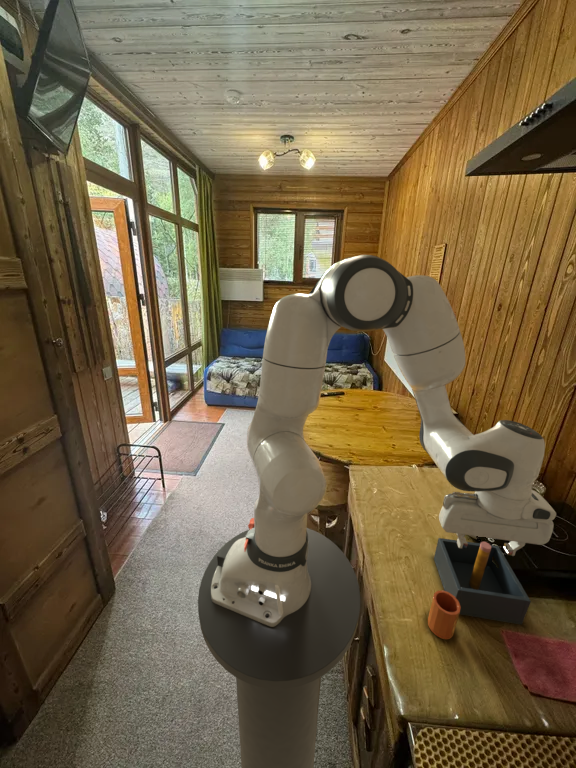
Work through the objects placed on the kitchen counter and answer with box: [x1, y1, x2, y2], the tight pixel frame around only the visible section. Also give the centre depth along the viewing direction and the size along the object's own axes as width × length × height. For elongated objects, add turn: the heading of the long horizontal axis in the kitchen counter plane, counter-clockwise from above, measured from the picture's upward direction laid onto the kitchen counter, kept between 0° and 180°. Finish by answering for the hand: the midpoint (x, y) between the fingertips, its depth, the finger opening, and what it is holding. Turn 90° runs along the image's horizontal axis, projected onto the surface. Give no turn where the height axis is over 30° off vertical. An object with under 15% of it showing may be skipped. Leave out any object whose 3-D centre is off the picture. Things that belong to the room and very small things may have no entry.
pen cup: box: [427, 589, 461, 640], centre depth 62 cm, size 5×5×7 cm
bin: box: [433, 537, 531, 626], centre depth 69 cm, size 14×14×7 cm
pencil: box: [469, 541, 492, 590], centre depth 68 cm, size 2×2×12 cm
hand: (484, 549), depth 67 cm, fingers open, 8 cm apart
